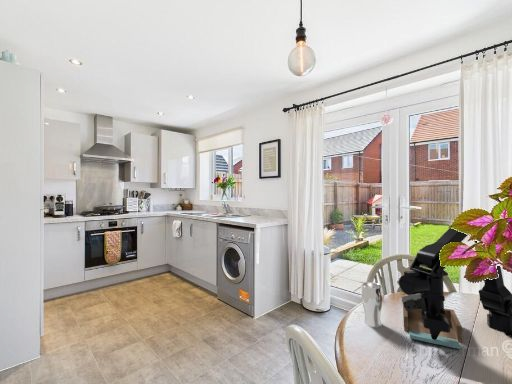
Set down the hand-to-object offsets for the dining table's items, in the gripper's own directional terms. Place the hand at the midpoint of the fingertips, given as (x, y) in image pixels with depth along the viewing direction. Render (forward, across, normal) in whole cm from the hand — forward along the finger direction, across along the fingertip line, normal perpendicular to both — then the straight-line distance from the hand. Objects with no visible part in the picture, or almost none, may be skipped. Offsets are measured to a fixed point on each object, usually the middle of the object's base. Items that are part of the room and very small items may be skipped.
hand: (433, 339), depth 80 cm
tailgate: (+1, -6, 0) cm, 6 cm away
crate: (+2, -11, 0) cm, 12 cm away
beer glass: (+3, -5, -18) cm, 19 cm away
